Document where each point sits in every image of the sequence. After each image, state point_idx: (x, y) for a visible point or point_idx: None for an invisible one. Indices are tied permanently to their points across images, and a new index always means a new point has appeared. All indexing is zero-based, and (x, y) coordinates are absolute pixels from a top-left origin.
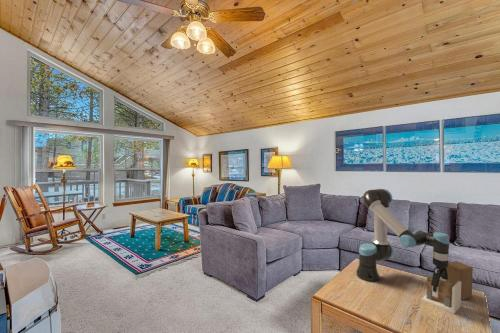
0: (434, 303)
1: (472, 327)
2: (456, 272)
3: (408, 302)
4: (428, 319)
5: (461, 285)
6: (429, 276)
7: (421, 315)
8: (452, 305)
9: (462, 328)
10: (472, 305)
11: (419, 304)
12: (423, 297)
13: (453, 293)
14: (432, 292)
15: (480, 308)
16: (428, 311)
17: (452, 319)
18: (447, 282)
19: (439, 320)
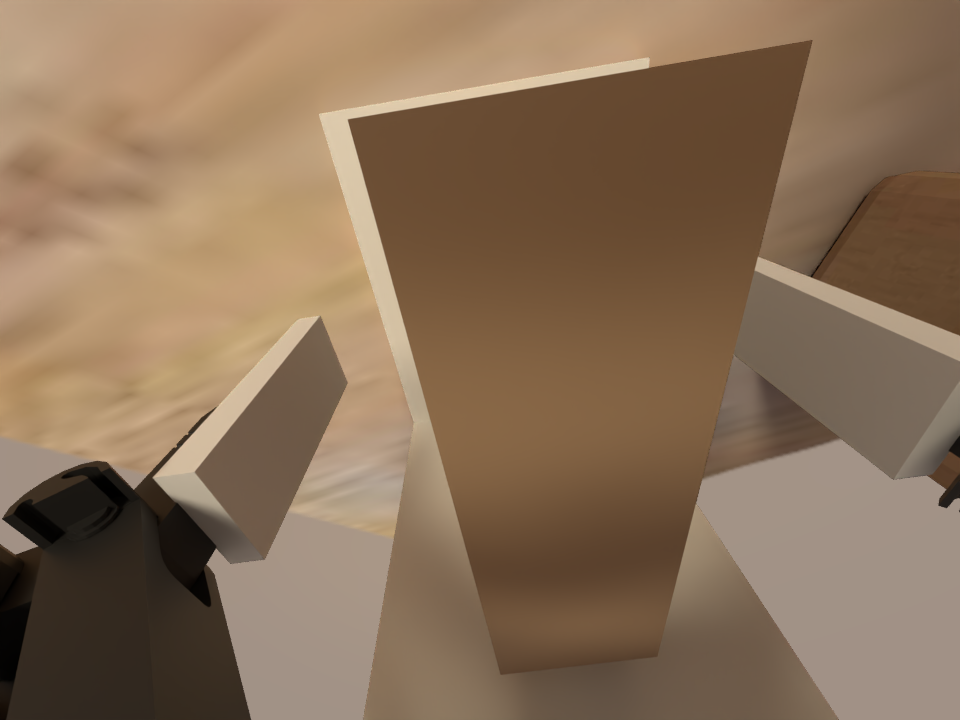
0: (381, 284)
1: (373, 526)
2: None
3: (45, 28)
4: (83, 374)
5: (944, 485)
6: (777, 50)
7: (46, 311)
8: (408, 473)
9: (291, 511)
10: (717, 429)
11: (204, 166)
12: (381, 112)
13: (381, 648)
14: (271, 354)
15: (708, 466)
16: (200, 306)
17: (326, 449)
18: (668, 598)
19: (191, 418)
